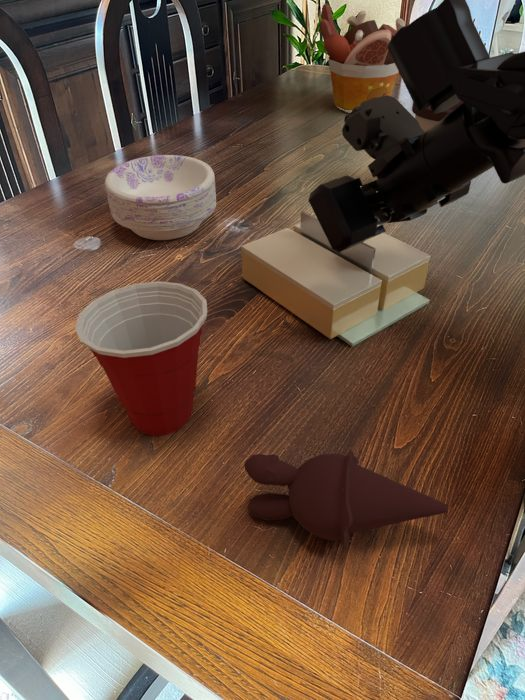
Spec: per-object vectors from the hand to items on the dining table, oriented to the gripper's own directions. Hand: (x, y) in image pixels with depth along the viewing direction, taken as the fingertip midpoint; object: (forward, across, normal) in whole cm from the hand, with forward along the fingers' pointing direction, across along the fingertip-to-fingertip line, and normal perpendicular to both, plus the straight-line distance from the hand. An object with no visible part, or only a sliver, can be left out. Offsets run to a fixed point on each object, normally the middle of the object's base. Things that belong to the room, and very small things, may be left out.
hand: (347, 225), depth 62 cm
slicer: (+6, 0, +3) cm, 7 cm away
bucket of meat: (+42, -55, -29) cm, 76 cm away
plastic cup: (+4, +28, +9) cm, 29 cm away
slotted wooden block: (+8, 0, +5) cm, 9 cm away
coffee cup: (+16, -33, -2) cm, 37 cm away
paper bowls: (+27, +8, -14) cm, 31 cm away
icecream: (-10, +23, +23) cm, 33 cm away
